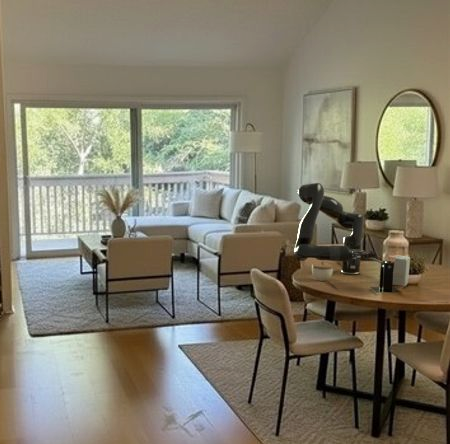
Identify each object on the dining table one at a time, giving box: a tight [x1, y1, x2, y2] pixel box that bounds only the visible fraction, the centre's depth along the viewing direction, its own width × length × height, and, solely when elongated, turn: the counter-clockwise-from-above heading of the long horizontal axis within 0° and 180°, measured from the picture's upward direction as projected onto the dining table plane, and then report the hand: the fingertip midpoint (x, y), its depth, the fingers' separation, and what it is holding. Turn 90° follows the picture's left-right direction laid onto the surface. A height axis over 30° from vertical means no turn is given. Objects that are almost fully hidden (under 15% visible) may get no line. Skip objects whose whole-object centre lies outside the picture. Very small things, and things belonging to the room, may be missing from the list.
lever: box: [364, 250, 387, 267], centre depth 270 cm, size 14×4×4 cm, turn 89°
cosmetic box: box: [393, 254, 411, 287], centre depth 282 cm, size 8×6×15 cm
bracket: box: [369, 260, 403, 294], centre depth 271 cm, size 12×10×15 cm
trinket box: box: [311, 261, 334, 282], centre depth 296 cm, size 11×11×9 cm
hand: (373, 254), depth 269 cm, fingers closed on lever, 3 cm apart
